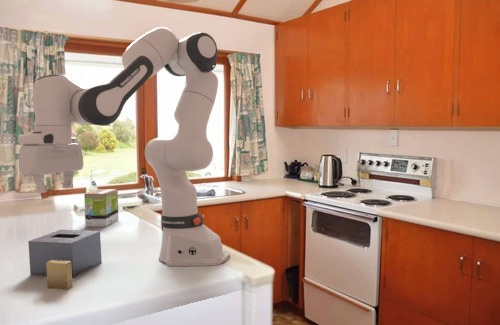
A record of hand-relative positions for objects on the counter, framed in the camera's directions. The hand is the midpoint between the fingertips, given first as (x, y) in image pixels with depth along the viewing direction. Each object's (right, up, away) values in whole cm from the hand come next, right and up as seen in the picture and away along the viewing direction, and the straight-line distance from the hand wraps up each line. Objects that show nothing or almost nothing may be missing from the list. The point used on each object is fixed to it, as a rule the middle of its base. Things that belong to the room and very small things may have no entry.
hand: (55, 190), depth 109 cm
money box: (-4, -25, +16) cm, 30 cm away
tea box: (-16, -20, +79) cm, 83 cm away
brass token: (+1, -26, +1) cm, 26 cm away
